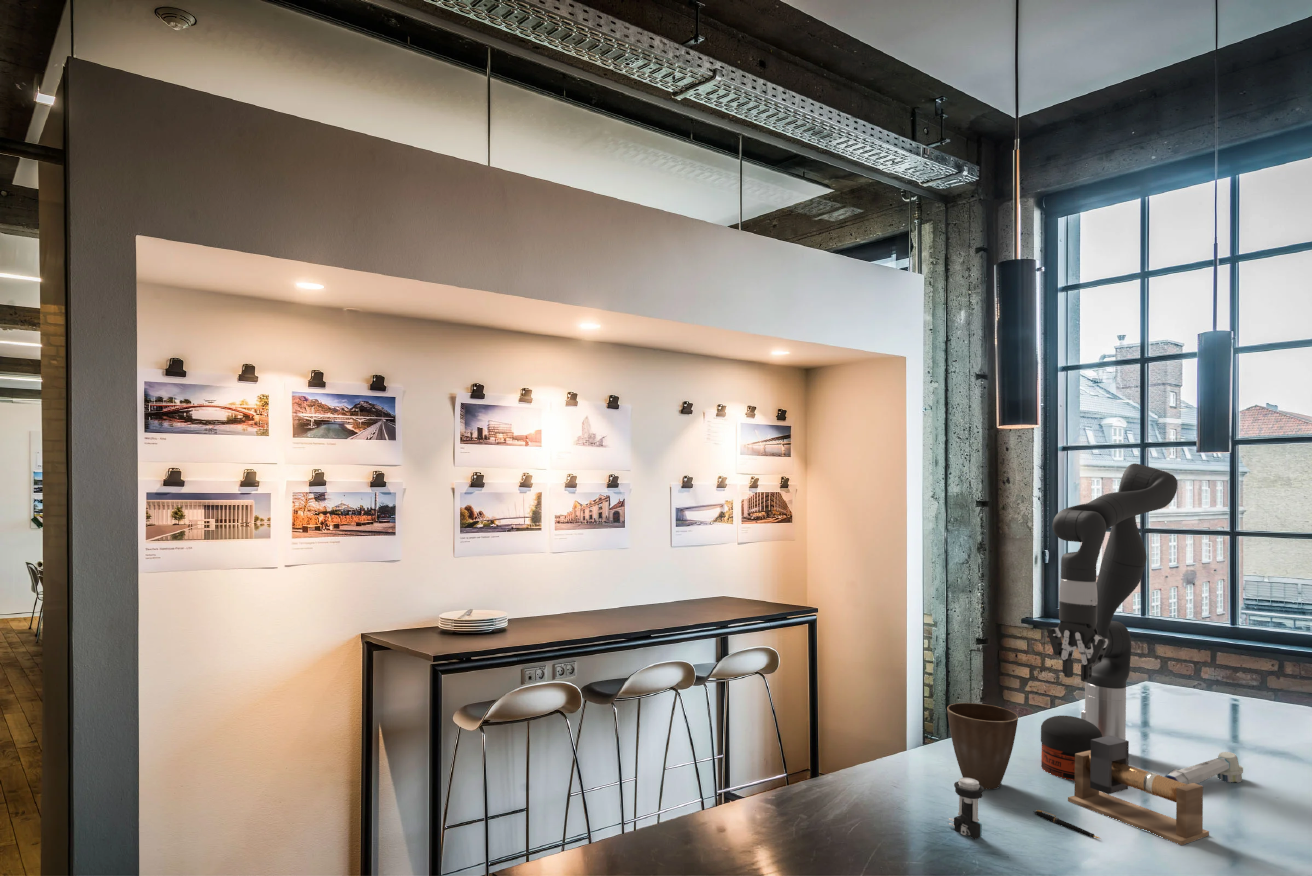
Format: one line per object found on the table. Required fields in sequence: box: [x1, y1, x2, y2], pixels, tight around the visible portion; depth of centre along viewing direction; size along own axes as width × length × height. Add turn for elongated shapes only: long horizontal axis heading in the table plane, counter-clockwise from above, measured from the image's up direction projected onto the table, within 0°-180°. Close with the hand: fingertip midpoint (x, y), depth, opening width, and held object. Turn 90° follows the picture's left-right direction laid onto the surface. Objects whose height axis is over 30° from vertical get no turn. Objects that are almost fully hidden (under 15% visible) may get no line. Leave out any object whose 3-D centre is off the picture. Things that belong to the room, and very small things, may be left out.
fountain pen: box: [1033, 809, 1102, 840], centre depth 161 cm, size 14×1×2 cm, turn 31°
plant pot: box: [946, 702, 1019, 790], centre depth 183 cm, size 15×15×16 cm
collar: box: [1090, 736, 1130, 795], centre depth 172 cm, size 4×7×10 cm, turn 120°
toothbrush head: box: [1163, 751, 1244, 784], centre depth 188 cm, size 5×7×25 cm
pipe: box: [1086, 754, 1187, 803], centre depth 167 cm, size 19×4×4 cm, turn 30°
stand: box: [1067, 750, 1210, 846], centre depth 167 cm, size 23×10×10 cm, turn 30°
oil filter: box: [1040, 715, 1102, 782], centre depth 193 cm, size 13×12×13 cm
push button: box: [948, 777, 985, 840], centre depth 157 cm, size 7×5×10 cm
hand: (1077, 678), depth 179 cm, fingers open, 3 cm apart
